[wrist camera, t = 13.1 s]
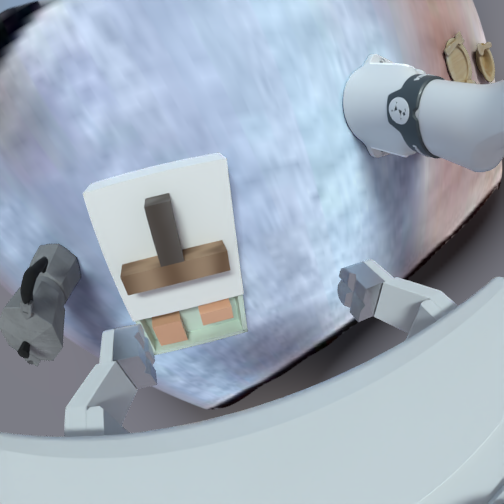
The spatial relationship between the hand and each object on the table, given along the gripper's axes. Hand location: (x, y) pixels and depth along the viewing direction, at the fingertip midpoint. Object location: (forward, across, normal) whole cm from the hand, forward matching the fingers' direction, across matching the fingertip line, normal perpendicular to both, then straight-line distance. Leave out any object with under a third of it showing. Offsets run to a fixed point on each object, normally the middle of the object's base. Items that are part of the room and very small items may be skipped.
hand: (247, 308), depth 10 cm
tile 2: (+26, +8, +27) cm, 38 cm away
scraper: (+25, +4, +8) cm, 26 cm away
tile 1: (+26, 0, +22) cm, 34 cm away
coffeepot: (+29, +23, +10) cm, 39 cm away
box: (+29, +4, +26) cm, 39 cm away
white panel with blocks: (+29, +4, +10) cm, 31 cm away
